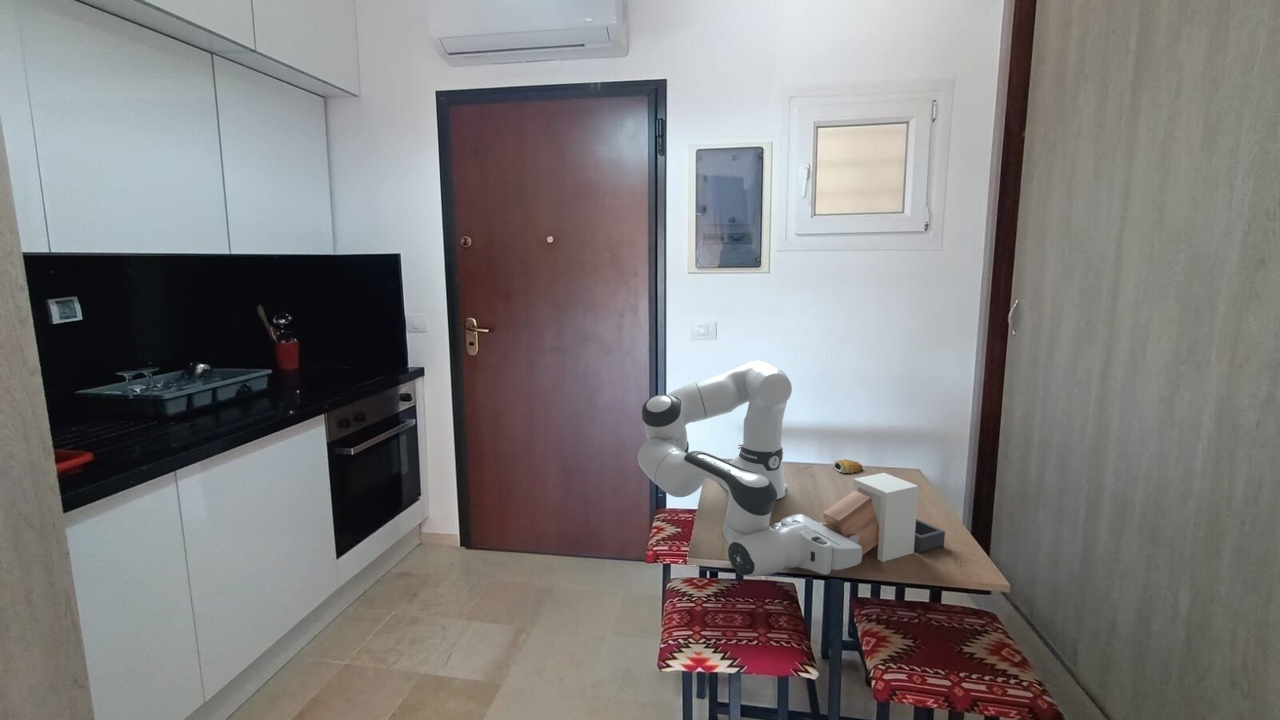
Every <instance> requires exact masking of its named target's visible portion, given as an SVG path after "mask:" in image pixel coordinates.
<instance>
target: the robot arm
mask: <svg viewBox="0 0 1280 720" xmlns="http://www.w3.org/2000/svg"><path fill="white" fill-rule="evenodd" d="M792 389H793V388H792V383H791V381H790V379H789V377H788V376H787V373H785V372H784V371H783V370H781V369H780V368H778V367H776V366H774V365H772V364H771V363H767V362H766V361H762V360H754V361H753V360H752V361H749V362H747V363H745V364H743V365H741V366H738V367H736V368H734V369H731V370H729V371H728V372H727V371H726V372H725V373H722V374H719V375H717V376H713V377H710V378H706V379H704V380H699V381H696V382H693V383H689V384H686V385H683V386H681V387H678V388H677V389H674V390H673V391H671V392H669V393H667V394H665V393H661V394H656V395H655V394H654V395H652V396H651V397H649V398H648V399H647V400H646V401H645V402H644V403H643V405H642V407H641V418H642V421H643V426H644V431H645V436H646V439H647V440H646V441H644V443H643V444H641V446H640V447H639V450H638V453H637V461H638V462H637V463H638V464H639V466H640V468H641V469H642V471H643V472H644V473H645V474H646V476H647V477H648V478H649V479H650V480H651V481H652V482H653V483H654V484H655V485H656V486H658V487H659V488H660V489H661V490H662V491H663V492H664V493H666V494H668V495H669V496H672V497H673V498H686V497H688V496H690V495H692V494H694V493H696V492H697V490H699V489H700V488H701V487H702V486H703V483H704V482H705V481H706V479H707V478H708V479H710V480H712V481H713V482H715V483H718V484H719V485H720V486H722V487H723V488H724V489H725V490H726V491H727V492H728V503H727V507H726V513H725V517H724V521H723V527H722V538H723V539H724V542H725V543H726V544H727V546H728V547H727V548H728V549H727V555H728V556H727V557H728V560H729V562H730V565H731V566H732V568H733V569H734V570H735V571H736V573H737V574H739V575H740V576H743V577H762V576H768V575H772V574H775V573H779V572H781V571H782V570H784V569H794V568H801V569H806V570H809V571H813V572H816V573H818V574H821V575H829V574H830V573H831V570H834V571H841V570H845V569H849V568H853V567H855V566H858V565H859V564H861V562H862V560H863V559H862V558H863V555H862V547H861V546H860V545H858V544H856V543H858V542H859V536H858V535H856V534H854V533H852V534H849V535H848V538H847V537H846V538H845V537H844V536H842V535H840V534H838V533H836V532H834V531H833V530H831V529H829V528H828V527H827V524H826V522H819V521H816V520H814V519H812V518H811V517H809V516H807V515H805V514H803V513H795V514H791V515H789V516H786V517H783V518H782V519H781V520H780V522H775V523H774V524H773V525H772V526H770V521H771V515H772V512H773V510H774V508H775V507H774V506H775V504H776V501H777V500H779V499H782V498H784V497H785V496H786V490H788V484H787V483H786V482H785V467H784V462H783V455H784V451H783V450H784V449H783V447H782V440H783V439H782V438H783V437H782V434H783V433H782V432H783V431H782V430H783V421H784V420H783V419H784V415H785V412H786V407H787V403H788V400H789V399H790V398H791V396H792ZM747 403H748V405H747V409H746V415H745V417H744V420H743V443H742V444H738V447H737V448H738V449H739V450H740V451H739V454H738V455H737V456H736V457H735V458H734V459H731V460H730V461H726V460H724V459H722V458H720V457H717V456H715V455H713V454H710V453H707V452H705V451H701V450H691V451H689V441H688V433H687V428H686V427H687V426H686V425H688V424H690V423H696V422H700V421H704V420H707V419H711V418H715V417H718V416H722V415H725V414H728V413H731V412H733V411H734V410H735V409H737V408H738V407H740V406H742V405H745V404H747Z"/></svg>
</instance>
